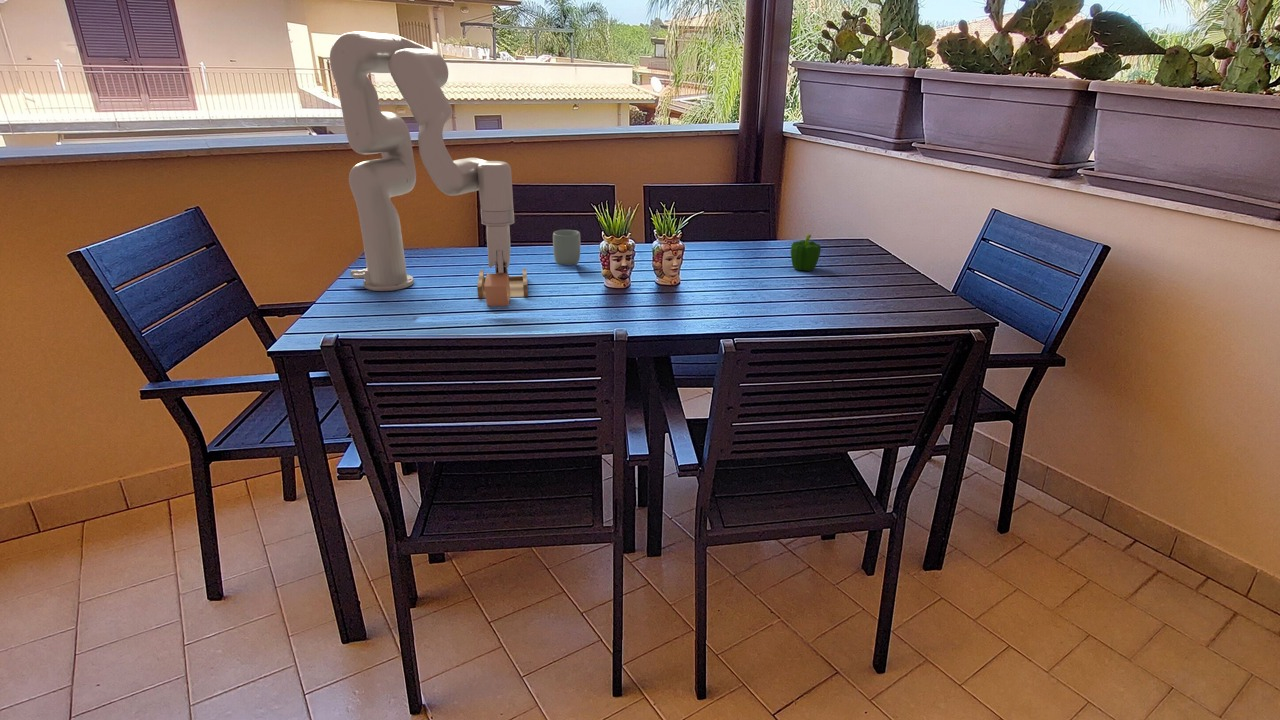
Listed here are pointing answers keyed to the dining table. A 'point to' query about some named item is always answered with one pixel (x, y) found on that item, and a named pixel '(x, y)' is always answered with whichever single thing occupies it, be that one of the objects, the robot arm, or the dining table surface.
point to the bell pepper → (805, 254)
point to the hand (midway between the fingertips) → (503, 291)
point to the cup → (566, 247)
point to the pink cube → (497, 289)
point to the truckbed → (516, 283)
